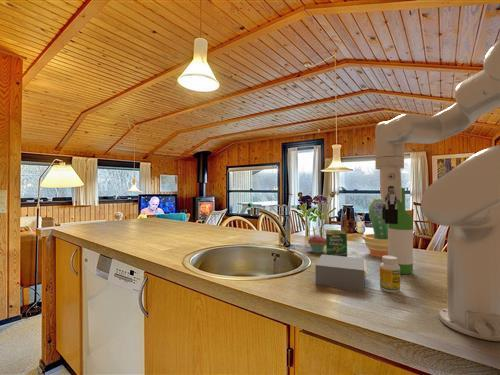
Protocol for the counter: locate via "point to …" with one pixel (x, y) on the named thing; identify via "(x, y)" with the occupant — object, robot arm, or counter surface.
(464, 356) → the counter surface
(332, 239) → the coffee box
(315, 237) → the cupcake
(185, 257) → the counter surface
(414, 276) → the counter surface
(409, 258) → the wine bottle
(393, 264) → the supplement bottle
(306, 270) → the counter surface
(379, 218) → the potted cactus
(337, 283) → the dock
